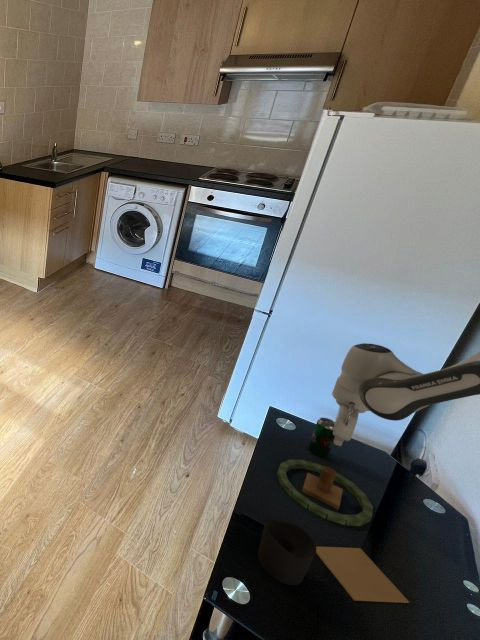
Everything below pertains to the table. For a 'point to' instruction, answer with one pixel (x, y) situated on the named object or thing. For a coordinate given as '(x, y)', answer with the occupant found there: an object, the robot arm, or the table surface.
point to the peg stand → (323, 487)
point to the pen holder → (285, 551)
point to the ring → (324, 513)
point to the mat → (359, 575)
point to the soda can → (322, 437)
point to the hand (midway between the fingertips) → (339, 435)
